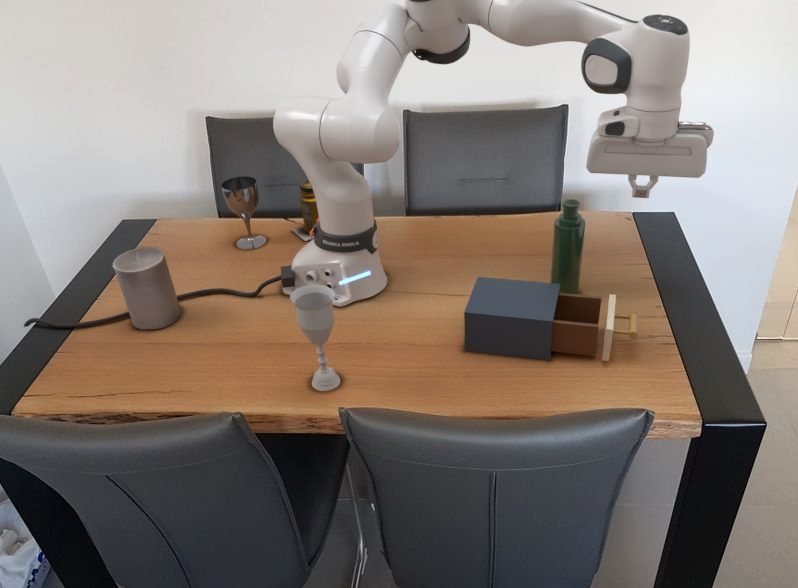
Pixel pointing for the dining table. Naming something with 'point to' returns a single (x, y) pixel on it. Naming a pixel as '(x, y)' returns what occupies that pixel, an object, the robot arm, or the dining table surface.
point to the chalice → (317, 327)
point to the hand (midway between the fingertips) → (640, 196)
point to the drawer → (586, 324)
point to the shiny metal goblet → (243, 206)
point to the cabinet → (511, 317)
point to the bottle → (568, 248)
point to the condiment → (307, 211)
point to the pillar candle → (147, 288)
